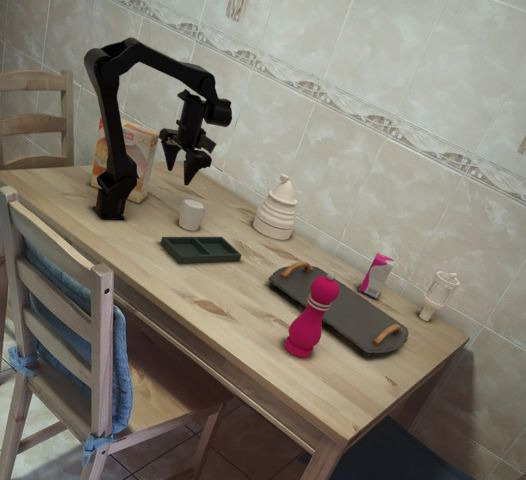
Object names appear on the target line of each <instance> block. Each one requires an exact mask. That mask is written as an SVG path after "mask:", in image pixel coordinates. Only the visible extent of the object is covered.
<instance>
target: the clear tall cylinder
mask: <svg viewBox="0 0 526 480" xmlns="http://www.w3.org/2000/svg"><path fill="white" fill-rule="evenodd" d="M442 277H443V278H442ZM457 277H458V274H457V273H455V272H449V273H448V272H445V271H440V270H439V271H436V272H435V275H434V277H433V279H432V280H431V283H429V286H428V287H427V289H426V291H425V292H424V293H423V294H422V297H421V298H422V300H423V301H424V303H426V304H425V305H424V306H423V308H422V311H421V312H420V313H419V318H420V319H421V320H422V321H426V322H429V321H430V320H431V317H432V316H433V314H434V313H435V311H436V309H438V310H444V309H446V307H447V305H448V303H449V302H450V300H451V299H452V297H453V296H454V294H455V292H456V291H457V289H458V288H459V286H460V285H461V282H460V281H459V279H457ZM444 278H446V279H448V280H446V279H444ZM440 284H441V285H442V286H443V287H440V286H439V285H440Z"/></svg>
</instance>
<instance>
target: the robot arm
mask: <svg viewBox="0 0 526 480" xmlns="http://www.w3.org/2000/svg"><path fill="white" fill-rule="evenodd" d="M139 63H141V64H143V65H146V66H147V67H149V68H152V69H153V70H156V71H158V72H160V73H163V74H164V75H167V76H168V77H171V78H173V79H175V80H178V81H179V82H181V83H182V84H183V85H185V86H186V87H188V88H189V89H190V90H192V91H193V92H194V93H196V94H193V93H191V92H190V91H189V90H188V89H186V88H185V89H183V90H182V91H180V92H179V93H177V94H176V97H177V98H179V99H180V100H181V101H183V104H182V109H181V113H180V118H179V119H176V120H175V124H176V125H177V126H178V127H177V129H171V128H166V127H164V128H162V129H160V131H159V132H158V133H159V139H160V144H161V147H162V151H163V155H164V158H165V164H166V167H167V171H168V172H172V171H173V169H174V166H175V163H176V160H177V158H178V154H179V152H180V151H181V150H182V151H183V152H185V155H184V158H185V159H183V184H184V185H183V186H189V185H190V184H191V182H192V180H193V179H194V178H195V176H196V175H197V174H198V172H199V171H200V170H202V169H206V168H211V166H212V163H213V159H212V157H211V154H212V153H213V152H214V150H215V148H216V146H217V142H215V141H214V140H212V139H211V138H210V137H208V136H207V131H206V130H205V128H203V127H202V126H203V123H204V122H205V124H207V125H210V126H211V125H212V126H215V127H216V126H217V127H222V128H228V127H229V126H230V125H231V123H232V121H233V110H232V101H231V100H230V99H228V98H220V97H219V96H218V92H217V88H216V85H217V84H216V77H215V75H214V74H213V73H211V72H210V71H208V70H207V69H205V68H204V67H202V66H201V65H198V64H195V63H191V62H183V61H180V60H177V59H175V58H173V57H171V56H169V55H167V54H165V53H164V52H163V53H162V52H161V51H159V50H158V49H155V48H153V47H151V46H149V45H147V44H144V43H142V42H141V41H140V40H138V39H136V38H135V37H132V36H131V37H130V36H129V37H128V38H125V39H123V40H121V41H118V42H114V43H110V44H106V45H104V46H102V47H100V48H99V47H92V48H90V49H89V50H88V51H87V52H86V53H85V55H84V57H83V65H84V68H85V71H86V74H87V76H88V79H89V81H90V83H91V85H92V88H93V89H94V92H95V94H96V97H97V101H98V107H99V112H100V117H101V118H102V123H103V128H104V133H105V138H106V143H107V148H108V158H107V162H106V165H107V170H106V171H104V172H103V173H102V174H100V175H99V176H98V177H97V183H98V185H99V186H100V187H101V188H102V189H100V188H98V189H97V195H96V201H95V205H93V206H92V210H93V211H94V212H95V213H96V214H97V216H98V217H99V218H100V219H101V220H116V221H117V220H119V221H120V220H122V221H123V220H125V216H124V213H125V208H126V203H127V200H128V199H127V198H128V196H129V194H130V193H131V191H132V190H133V189H134V188H135V186H137V178H138V179H139V176H138V174H137V164H136V162H135V161H134V160H133V159H132V158H131V157H130V156H129V155H128V154H127V153H126V147H125V141H124V135H123V129H122V123H121V118H122V117H121V112H120V106H119V100H118V93H119V89H120V82H121V81H120V77H121V76H122V75H124V74H126V73H128V72H129V71H130V70H131V69H132V68H133V67H134V66H135V65H136V64H139ZM201 97H202V98H204V99H205V100H204V99H202V98H201ZM202 149H204V150H205V151H204V150H202ZM206 151H207V152H206Z"/></svg>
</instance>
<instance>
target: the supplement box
mask: <svg viewBox="0 0 526 480" xmlns="http://www.w3.org/2000/svg"><path fill="white" fill-rule="evenodd" d="M395 261H396V260H395V259H393V258H391V257H389V256H386V255H385V254H383V253H380V252H377V253H376V255H375V257H374V258H373V260H372V263H371V265H370V267H369V269H368V270H367V273H366V274H365V277H364V278H363V280H362V283H361V284H360V287H359V290H358V293H360V294H363V295H365V296H367V297H369V298H371V299H374V300H377V299H378V297H379V294H380V293H381V291H382V289H383V287H384V285H385V283H386V281H387V279H388V277H389V275H390V274H391V271H392V270H393V268H394V265H395Z"/></svg>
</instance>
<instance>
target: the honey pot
mask: <svg viewBox="0 0 526 480" xmlns="http://www.w3.org/2000/svg"><path fill="white" fill-rule="evenodd" d="M279 177H280V181H281V182H280V183H279V184H278V185H277V186H275V188H272V189H269V190H267V197H266V198H265V199H264V200H263V202H262V203H261V205H260V206H258V208H257V211H256V214H255V217H254V219H253V222H252V226H253V228H254V229H255V230H256V231H257V232H259V233H260V234H262V235H264V236H266V237H268V238H271V239H274V240H280V241H285V240H289V239H290V237H291V234H292V232H293V230H294V227H295V225H296V212H297V209H296V206H297V205H298V204H299V201H298V199H297V197H296V190H295V187H294V185H293V183H292V181H290V180H289V178H290V177H289V176H288V175H287V174H284V173H281V174H280V175H279Z"/></svg>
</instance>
